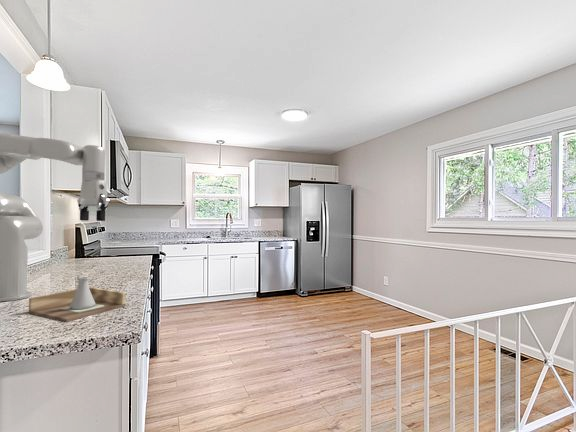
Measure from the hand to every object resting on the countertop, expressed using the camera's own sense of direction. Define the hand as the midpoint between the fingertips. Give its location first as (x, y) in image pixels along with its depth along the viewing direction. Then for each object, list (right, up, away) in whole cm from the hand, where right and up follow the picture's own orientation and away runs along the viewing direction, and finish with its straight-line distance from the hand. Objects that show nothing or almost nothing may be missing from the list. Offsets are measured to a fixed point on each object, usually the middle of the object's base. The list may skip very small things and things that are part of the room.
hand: (92, 220), depth 124 cm
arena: (+6, -30, -16) cm, 35 cm away
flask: (+7, -29, -17) cm, 35 cm away
